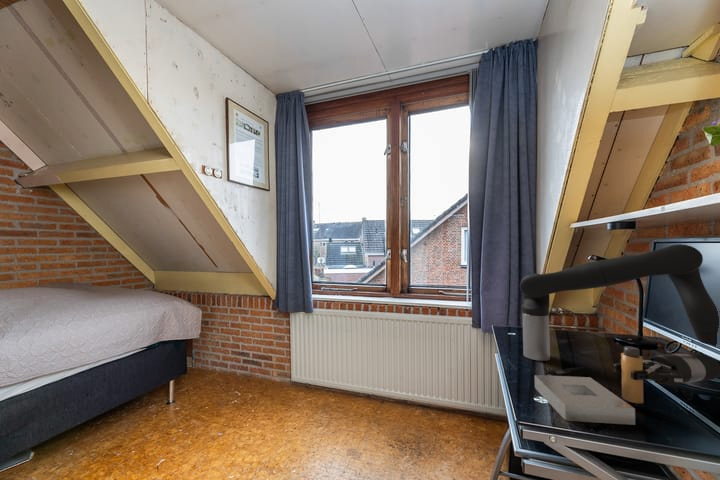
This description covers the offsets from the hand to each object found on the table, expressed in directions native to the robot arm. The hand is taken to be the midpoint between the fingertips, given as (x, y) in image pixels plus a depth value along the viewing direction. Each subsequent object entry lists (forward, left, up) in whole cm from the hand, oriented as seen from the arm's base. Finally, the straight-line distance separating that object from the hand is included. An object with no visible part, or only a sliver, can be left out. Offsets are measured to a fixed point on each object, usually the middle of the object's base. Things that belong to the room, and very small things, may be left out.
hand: (623, 371), depth 83 cm
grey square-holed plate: (-1, -11, -10) cm, 15 cm away
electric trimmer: (-19, -5, -10) cm, 22 cm away
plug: (-1, +3, -8) cm, 8 cm away
